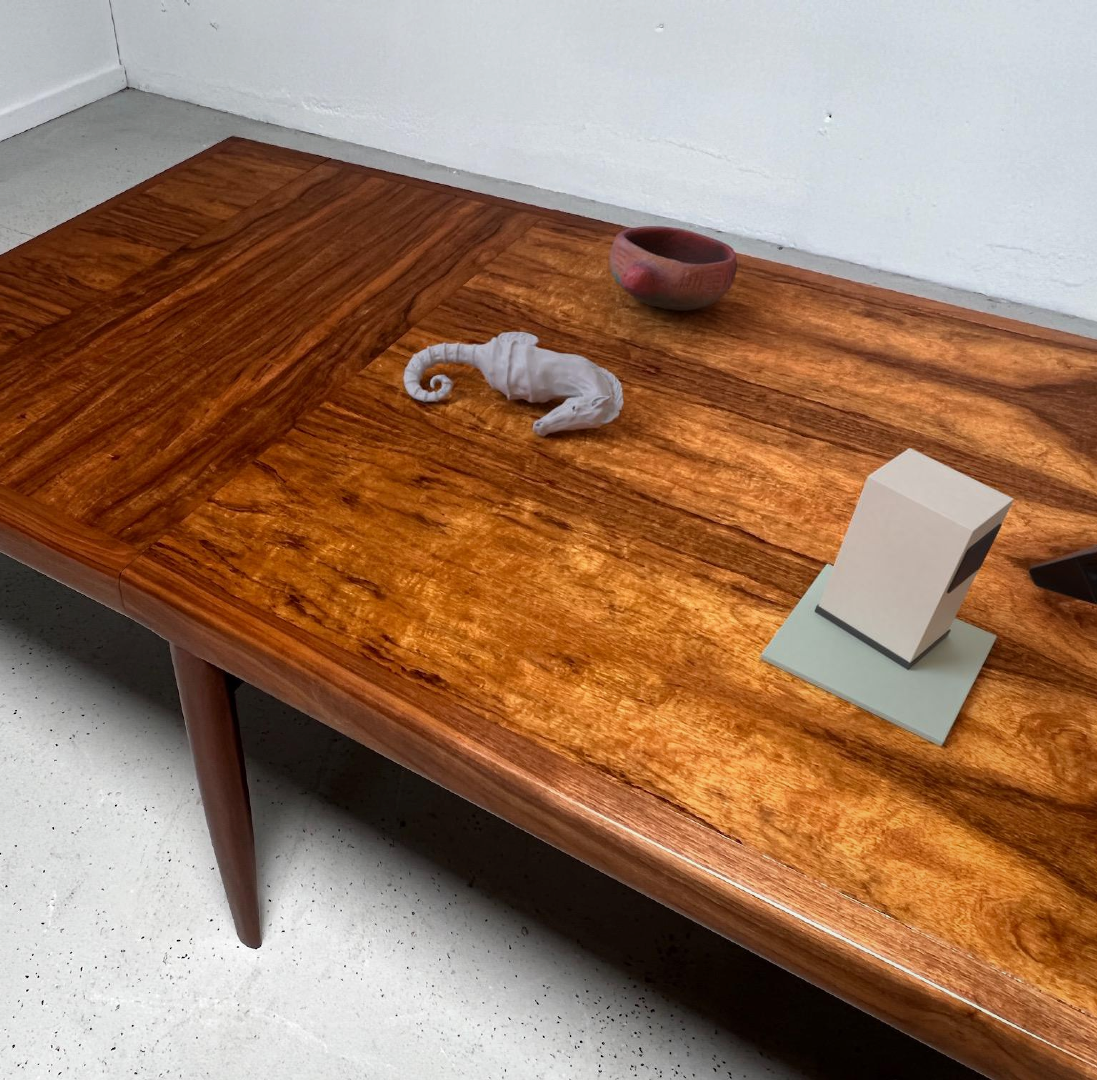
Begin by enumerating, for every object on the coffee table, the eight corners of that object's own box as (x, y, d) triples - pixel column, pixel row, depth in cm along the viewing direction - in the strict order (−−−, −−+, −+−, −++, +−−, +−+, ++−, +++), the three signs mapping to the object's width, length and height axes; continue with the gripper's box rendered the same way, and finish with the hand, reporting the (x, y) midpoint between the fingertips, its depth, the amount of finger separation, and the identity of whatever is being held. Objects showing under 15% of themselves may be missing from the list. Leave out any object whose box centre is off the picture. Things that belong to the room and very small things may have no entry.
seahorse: (388, 414, 93) (622, 414, 88) (406, 315, 98) (627, 310, 93) (398, 449, 97) (622, 451, 92) (416, 352, 103) (627, 349, 98)
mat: (994, 640, 73) (997, 635, 73) (941, 747, 66) (943, 742, 66) (825, 568, 79) (827, 563, 79) (759, 658, 72) (761, 653, 72)
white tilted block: (855, 580, 77) (909, 446, 70) (948, 636, 73) (1017, 499, 65) (813, 611, 75) (865, 475, 67) (908, 670, 71) (975, 532, 63)
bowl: (600, 272, 116) (611, 202, 111) (719, 279, 115) (735, 208, 110) (607, 345, 104) (619, 270, 99) (740, 353, 103) (760, 278, 98)
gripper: (1416, 261, 52) (1085, 365, 65) (1276, 389, 43) (926, 479, 56) (1506, 465, 52) (1159, 526, 66) (1387, 635, 43) (1014, 665, 57)
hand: (1070, 543), depth 61 cm, fingers open, 9 cm apart
